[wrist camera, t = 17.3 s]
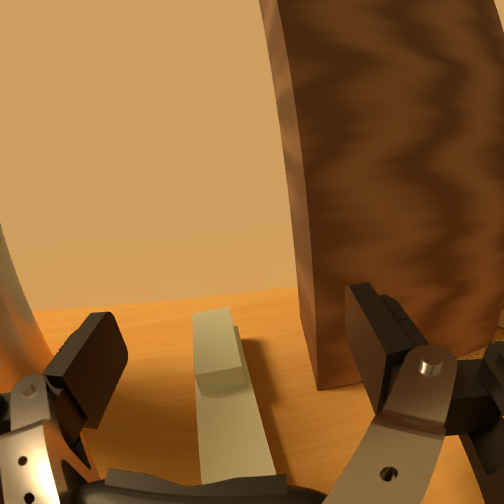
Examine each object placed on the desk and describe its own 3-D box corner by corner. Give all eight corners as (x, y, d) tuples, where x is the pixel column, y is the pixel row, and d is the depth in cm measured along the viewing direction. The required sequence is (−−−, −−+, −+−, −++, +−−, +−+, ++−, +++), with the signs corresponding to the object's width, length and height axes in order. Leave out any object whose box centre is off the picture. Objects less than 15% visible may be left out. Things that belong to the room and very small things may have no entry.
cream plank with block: (220, 564, 9) (198, 549, 8) (198, 350, 28) (188, 314, 26) (298, 551, 10) (296, 535, 8) (240, 342, 28) (233, 306, 27)
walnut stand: (311, 396, 20) (247, -89, 9) (294, 315, 30) (249, -18, 19) (497, 345, 19) (481, -48, 8) (442, 288, 30) (421, -9, 18)
